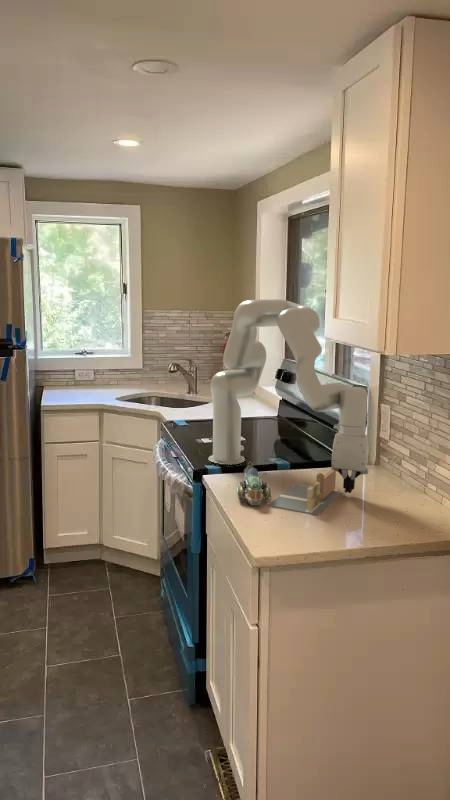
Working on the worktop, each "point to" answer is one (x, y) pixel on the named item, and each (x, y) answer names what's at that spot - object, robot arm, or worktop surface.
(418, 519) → the worktop surface
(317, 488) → the fence post
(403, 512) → the worktop surface
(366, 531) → the worktop surface
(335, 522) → the worktop surface
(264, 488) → the hoverbike
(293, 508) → the card
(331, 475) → the fold panel
